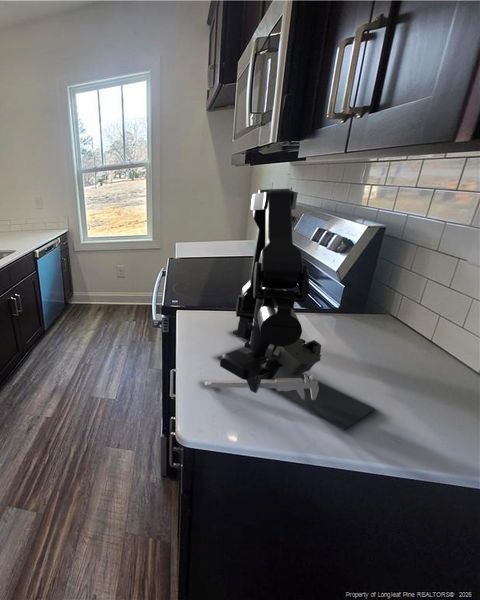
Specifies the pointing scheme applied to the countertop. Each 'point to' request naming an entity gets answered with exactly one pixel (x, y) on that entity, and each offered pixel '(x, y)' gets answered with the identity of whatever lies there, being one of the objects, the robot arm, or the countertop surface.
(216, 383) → the caliper
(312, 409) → the mat
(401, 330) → the countertop surface
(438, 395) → the countertop surface
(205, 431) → the countertop surface
